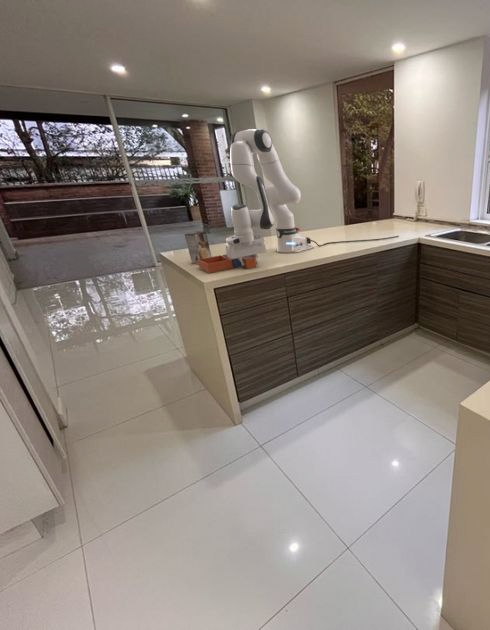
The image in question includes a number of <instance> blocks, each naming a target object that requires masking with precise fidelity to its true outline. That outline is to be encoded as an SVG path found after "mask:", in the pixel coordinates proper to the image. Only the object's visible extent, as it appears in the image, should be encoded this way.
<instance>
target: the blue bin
mask: <svg viewBox="0 0 490 630" xmlns="http://www.w3.org/2000/svg"><path fill="white" fill-rule="evenodd" d="M221 256H224V257H226V258H228V257H227V254H226V253H225V254H222V255H221ZM250 256H251V257H254V255H250ZM245 257H249V256H245ZM242 258H244V257H242ZM229 259H230V258H229ZM231 260H232V264H233V269H235V268H240V267H243V265H241V262H240V261H239V259H238V258H236V259H231ZM241 260H242V259H241Z"/></svg>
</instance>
